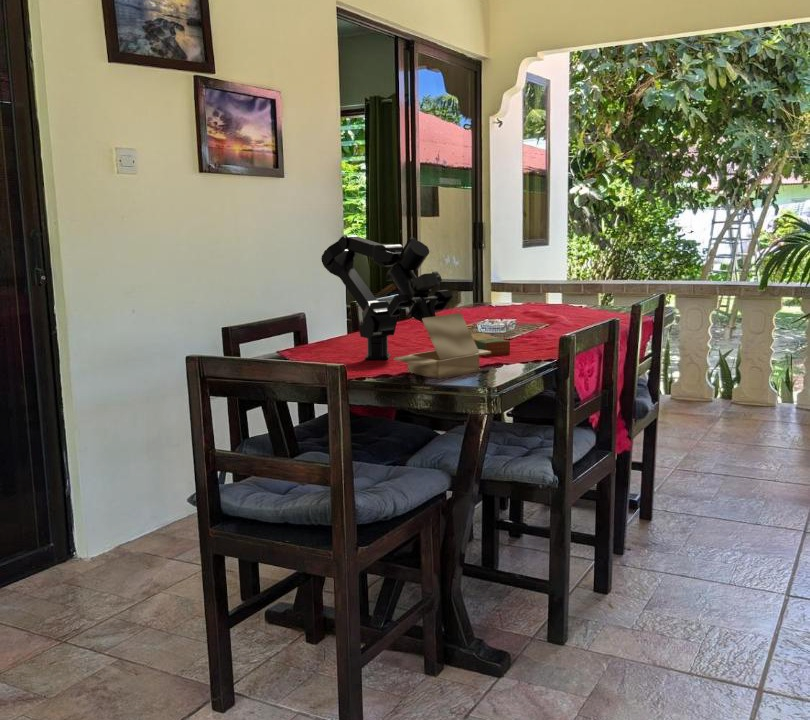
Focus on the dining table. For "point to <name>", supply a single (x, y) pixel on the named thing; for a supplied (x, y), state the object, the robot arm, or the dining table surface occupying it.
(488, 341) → the carton
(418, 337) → the dining table surface
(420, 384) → the dining table surface
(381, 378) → the dining table surface
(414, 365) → the open box
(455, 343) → the flap
